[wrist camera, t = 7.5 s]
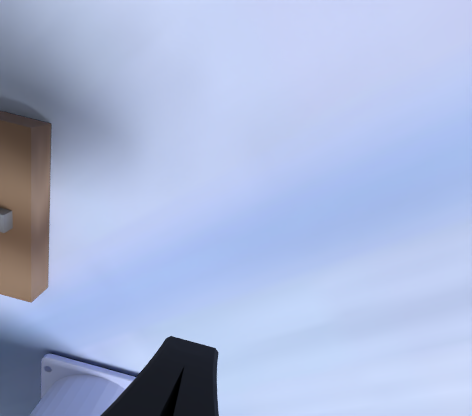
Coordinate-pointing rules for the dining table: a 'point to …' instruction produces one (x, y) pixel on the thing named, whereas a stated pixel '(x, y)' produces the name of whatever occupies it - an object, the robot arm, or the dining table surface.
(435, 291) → the dining table surface
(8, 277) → the flat brown board
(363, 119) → the dining table surface
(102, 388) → the robot arm
